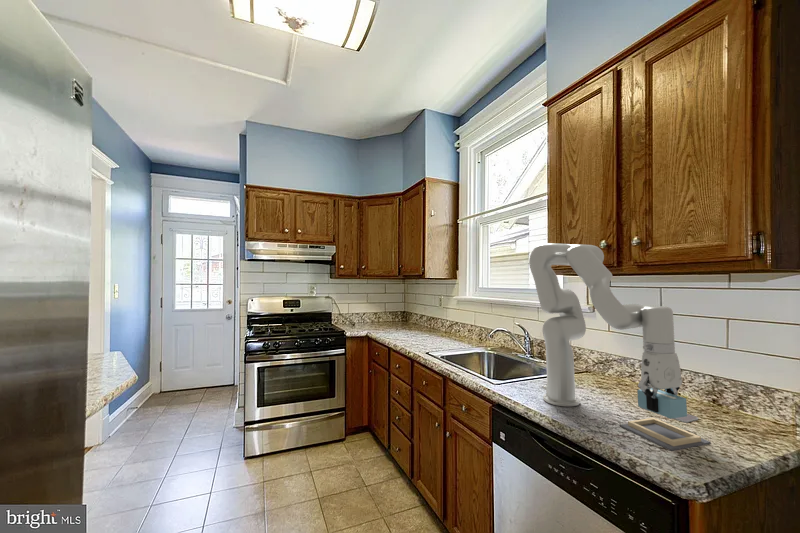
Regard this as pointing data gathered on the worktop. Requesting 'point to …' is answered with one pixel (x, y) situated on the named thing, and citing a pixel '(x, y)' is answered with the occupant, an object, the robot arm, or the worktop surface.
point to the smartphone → (684, 418)
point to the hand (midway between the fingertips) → (661, 408)
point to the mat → (664, 434)
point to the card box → (666, 404)
